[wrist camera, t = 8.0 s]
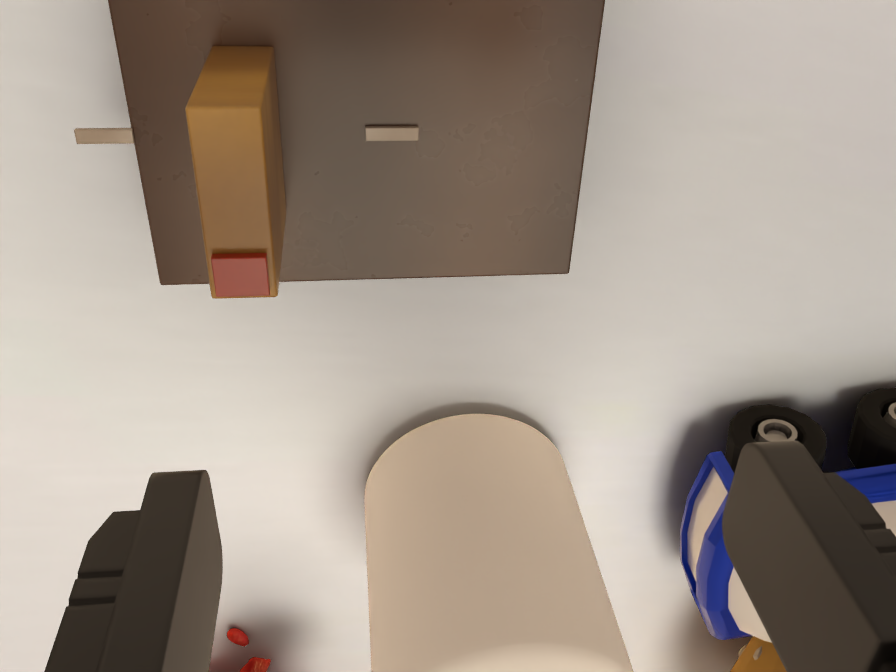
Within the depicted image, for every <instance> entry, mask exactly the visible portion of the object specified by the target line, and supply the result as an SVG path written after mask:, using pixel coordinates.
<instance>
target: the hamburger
mask: <svg viewBox="0 0 896 672" xmlns="http://www.w3.org/2000/svg"><path fill="white" fill-rule="evenodd" d="M745 647H746V648H745ZM738 658H739V659H738V660H737V662H736V663H735V665H734V666H733V668H732V669H731V671H730V672H787V671H786V669H785V668H784V666H783V664H782V662H781V660H780V658H779V656H778V654H777V652H776V650H775V648H774V646H773V644H772V643H771V642H767V641H764V640H761V639H759V638H757V637H755V636H753V637H752V639H751V640H750V642H749V643H748V645H747V646H746V645H745V646H743V647H742V648H741V649H740V651H739V652H738Z"/></svg>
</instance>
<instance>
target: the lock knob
mask: <svg viewBox="0 0 896 672" xmlns="http://www.w3.org/2000/svg"><path fill="white" fill-rule="evenodd" d="M185 111H186V118H187V125H188V132H189V140H190V147H191V154H192V161H193V168H194V175H195V182H196V190H197V197H198V204H199V211H200V218H201V225H202V232H203V240H204V247H205V254H206V261H207V268H208V275H209V283H210V290H211V296H212V298H250V297H276V296H277V295H278V287H279V278H280V268H281V258H282V249H283V239H284V230H285V220H286V200H285V187H284V174H283V161H282V147H281V134H280V121H279V108H278V95H277V82H276V69H275V55H274V48H273V47H262V46H213V47H212V48H211V50H210V52H209V55H208V57H207V59H206V62H205V64H204V66H203V69H202V71H201V73H200V76H199V78H198V80H197V82H196V85H195V87H194V89H193V92H192V94H191V96H190V99H189V101H188V103H187V105H186V108H185Z"/></svg>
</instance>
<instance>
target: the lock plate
mask: <svg viewBox="0 0 896 672" xmlns="http://www.w3.org/2000/svg"><path fill="white" fill-rule="evenodd" d="M108 3H109V9H110V14H111V19H112V25H113V30H114V36H115V41H116V47H117V52H118V57H119V63H120V68H121V74H122V79H123V84H124V90H125V95H126V101H127V106H128V112H129V117H130V122H131V128H76V129H75V130H74V132H75V137H76V141H77V144H111V143H134V144H135V150H136V155H137V160H138V166H139V171H140V177H141V182H142V187H143V193H144V198H145V204H146V209H147V215H148V220H149V225H150V231H151V236H152V242H153V247H154V253H155V258H156V263H157V269H158V274H159V280H160V283H161V285H179V284H210V283H209V275H208V268H207V261H206V254H205V247H204V240H203V232H202V225H201V218H200V211H199V204H198V197H197V190H196V182H195V175H194V168H193V161H192V154H191V147H190V140H189V132H188V125H187V118H186V111H185V108H186V105H187V103H188V101H189V99H190V96H191V94H192V92H193V89H194V87H195V85H196V82H197V80H198V78H199V76H200V73H201V71H202V69H203V66H204V64H205V62H206V59H207V57H208V55H209V52H210V50H211V48H212V47H213V46H262V47H273V48H274V55H275V69H276V82H277V95H278V108H279V121H280V134H281V147H282V161H283V174H284V187H285V200H286V220H285V230H284V239H283V249H282V258H281V268H280V278H279V282H287V281H322V280H358V279H394V278H430V277H465V276H501V275H537V274H567V273H569V269H570V261H571V253H572V246H573V238H574V231H575V223H576V216H577V208H578V201H579V193H580V185H581V178H582V170H583V163H584V155H585V148H586V140H587V132H588V125H589V117H590V110H591V102H592V95H593V87H594V80H595V72H596V64H597V57H598V49H599V42H600V34H601V27H602V19H603V11H604V4H605V0H108Z"/></svg>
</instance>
